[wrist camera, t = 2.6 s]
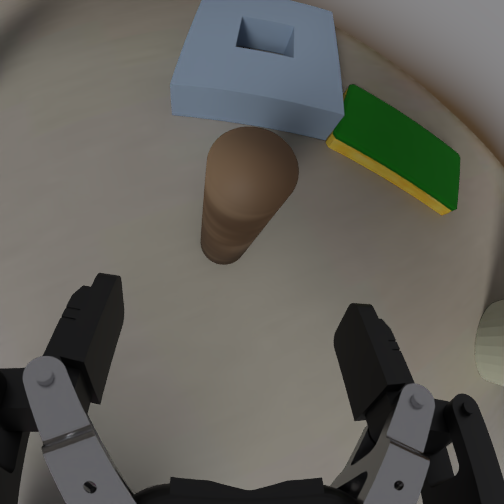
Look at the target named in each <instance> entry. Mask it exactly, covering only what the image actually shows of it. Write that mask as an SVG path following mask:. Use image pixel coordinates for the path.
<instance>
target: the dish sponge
mask: <svg viewBox="0 0 504 504" xmlns="http://www.w3.org/2000/svg"><path fill="white" fill-rule="evenodd" d="M343 103H344V117H343V118H342V119H341V120H340V122H339V123H338V124H337V126H336V127H335V128H334V130H333V131H332V132H331V134H330V135H329V136H328V138H327V140H326V144H327V146H328V147H329V148H331V149H333V150H335V151H337V152H338V153H340V154H342V155H344V156H346V157H348V158H350V159H351V160H353V161H355V162H357V163H359V164H360V165H362V166H364V167H366V168H367V169H369V170H371V171H373V172H374V173H376V174H378V175H379V176H381V177H383V178H385V179H386V180H388V181H390V182H391V183H393V184H394V185H396V186H398V187H399V188H401V189H402V190H404V191H406V192H407V193H409V194H410V195H412V196H414V197H415V198H417V199H418V200H420V201H421V202H423V203H424V204H426V205H427V206H429V207H430V208H432V209H433V210H435V211H436V212H438V213H439V214H440V215H444V214H447V213H449V212H451V211H453V210H455V209H457V202H458V190H459V175H460V156H459V154H458V153H457V152H456V151H454V150H453V149H452V148H450V147H449V146H448V145H447V144H445V143H444V142H443V141H441V140H440V139H439V138H437V137H436V136H435V135H433V134H432V133H430V132H429V131H428V130H426V129H425V128H423V127H422V126H421V125H419V124H418V123H416V122H415V121H413V120H412V119H410V118H409V117H407V116H406V115H404V114H403V113H401V112H400V111H398V110H397V109H395V108H393V107H392V106H390V105H389V104H387V103H385V102H384V101H382V100H380V99H379V98H377V97H375V96H374V95H372V94H370V93H369V92H367V91H365V90H363V89H362V88H360V87H358V86H356V85H354V84H352V85H349V87H348V88H347V90H346V91H345V93H344V94H343Z"/></svg>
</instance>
